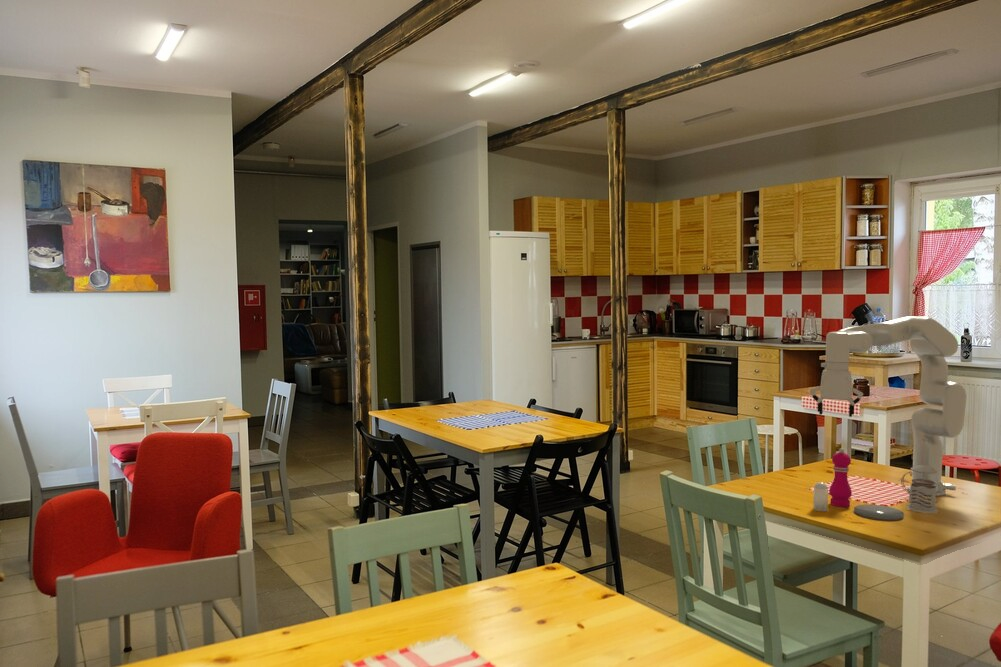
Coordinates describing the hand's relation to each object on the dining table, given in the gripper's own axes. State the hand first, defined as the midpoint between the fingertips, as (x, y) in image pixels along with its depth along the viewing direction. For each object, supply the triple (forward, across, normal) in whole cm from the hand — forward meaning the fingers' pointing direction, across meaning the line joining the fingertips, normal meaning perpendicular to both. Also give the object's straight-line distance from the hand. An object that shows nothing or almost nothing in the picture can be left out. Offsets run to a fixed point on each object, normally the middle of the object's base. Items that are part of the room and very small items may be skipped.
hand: (835, 415), depth 271 cm
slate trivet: (+31, +15, -8) cm, 36 cm away
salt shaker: (+31, -3, -12) cm, 34 cm away
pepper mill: (+31, +2, -2) cm, 32 cm away
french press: (+32, +27, +7) cm, 42 cm away
